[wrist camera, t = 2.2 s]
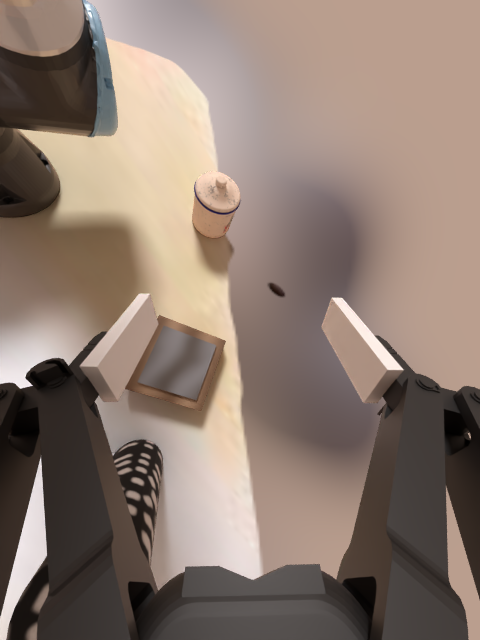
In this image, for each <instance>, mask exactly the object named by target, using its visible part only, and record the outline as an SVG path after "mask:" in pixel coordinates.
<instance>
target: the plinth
mask: <svg viewBox="0 0 480 640" xmlns="http://www.w3.org/2000/svg"><path fill="white" fill-rule="evenodd" d="M157 320H158V326H157V328H156V330H155V332H154V334H153V336H152V338H151V340H150V342H149V343H148V345H147V347H146V349H145V351H144V353H143V355H142V357H141V359H140V361H139V363H138V364H137V366H136V368H135V370H134V372H133V374H132V376H131V378H130V380H129V382H128V383H127V385H126V387H125V389H128V390H131V391H135V392H138V393H141V394H145V395H148V396H152V397H155V398H158V399H162V400H165V401H169V402H172V403H175V404H179V405H182V406H185V407H189V408H192V409H196V410H199V411H201V410H202V407H203V404H204V401H205V398H206V396H207V393H208V390H209V387H210V384H211V381H212V379H213V376H214V373H215V370H216V367H217V364H218V362H219V359H220V356H221V353H222V350H223V347H224V345H225V342H226V341H225V340H222V339H219V338H217V337H214V336H212V335H209V334H207V333H204V332H201V331H199V330H196V329H194V328H191V327H188V326H186V325H183V324H181V323H178V322H176V321H173V320H170V319H168V318H165V317H163V316H160V315H159V317H158V319H157Z"/></svg>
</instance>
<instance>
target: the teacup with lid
mask: <svg viewBox="0 0 480 640" xmlns="http://www.w3.org/2000/svg"><path fill="white" fill-rule="evenodd" d="M194 191H195V197H194V206H193V214H192V221H193V224H194V226H195V228H196V229H197V230H198V231H199V232H200V233H201V234H203V235H204V236H207V237H210V238H218V237H221V236H223V235H225V234H226V232H227V231H228V229H229V226H230V224H231V221H232V219H233V216H234V214H235V211H236V210H237V208H238V207H239V204H240V192H239V189H238V187H237V185H236V184H235V182H234V181H233V180H232V179H231V178H229V177H228V176H227V175H225V174H223V173H220V172H216V171H209V172H205V173H203V174H202V175H200V176H199V177H198V179H197V180H196V182H195V186H194Z"/></svg>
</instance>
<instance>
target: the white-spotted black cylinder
mask: <svg viewBox="0 0 480 640" xmlns="http://www.w3.org/2000/svg"><path fill="white" fill-rule="evenodd" d="M113 459H114V463H115V466H116V469H117V472H118V476H119V479H120V482H121V485H122V489H123V492H124V495H125V498H126V502H127V505H128V508H129V511H130V514H131V518H132V521H133V524H134V527H135V531H136V534H137V537H138V540H139V543H140V546H141V549H142V551H143V553H144V554H145V556H146V558H147V560H148V563H149V565H150V564H151V556H152V548H153V540H154V532H155V524H156V515H157V507H158V499H159V491H160V483H161V475H162V466H163V458H162V454H161V451H160V449H159V448H158V447H157V446H156V445H155V444H154V443H152V442H151V441H147V440H135V441H132V442H129V443H127V444H125V445H124V446H122V447H121V448H120V449H119V450H118V451H117V452H116V453H115V454H114V456H113ZM48 591H49V574H48V558H47V557H46V558H45V560H44V561H43V563H42V564H41V566H40V567H39V569H38V570H37V572H36V573H35V575H34V576H33V578H32V579H31V581H30V583H29V584H28V586H27V587H26V589H25V590H24V592H23V593H22V595H21V597H20V599H19V601H18V603H17V605H16V607H15V609H14V612H13V615H12V618H11V620H10V623H9V628H8V633H7V639H6V640H37V621H38V617H39V613H40V609H41V607H42V605H43V603H44V602H45V600H46V598H47V596H48Z"/></svg>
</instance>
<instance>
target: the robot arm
mask: <svg viewBox="0 0 480 640" xmlns="http://www.w3.org/2000/svg"><path fill="white" fill-rule="evenodd" d="M112 83H113V79H112V72H111V65H110V59H109V54H108V49H107V44H106V39H105V35H104V31H103V27H102V23H101V20H100V17H99V14H98V12H97V10H96V8H95V7H94V6H93V5H92V4H91V3H89V2H88V1H86V0H0V216H1V217H20V216H26V215H30V214H34V213H36V212H39V211H41V210H43V209H45V208H46V207H48V206H49V205H50V204H51V203H52V202H53V201H54V200H55V198H56V197H57V195H58V192H59V187H60V183H59V178H58V175H57V173H56V171H55V169H54V167H53V166H52V164H51V163H50V161H49V160H48V158H47V157H46V156H45V155H44V153H43V152H42V151H41V150H40V149H39V148H38V147H36V146H35V145H34V144H33V143H32V142H31V141H30V140H29V139H28V138H27V137H26V136H25V135H24V134H22V133H21V132H20V131H19V130H18V129H24V130H34V131H43V132H52V133H62V134H71V135H80V136H88V137H94V136H112V135H114V134H115V133H116V131H117V127H118V116H117V105H116V97H115V91H114V86H113V84H112ZM157 326H158V320H157V317H156V313H155V309H154V306H153V302H152V298H151V294H140V293H139V295H138V296H137V297H136V298H135V299H134V301H133V302H132V303H131V304H130V306H129V307H128V308H127V309H126V310H125V312H124V313H123V314H122V315H121V316H120V318H119V319H118V320H117V321H116V323H115V324H114V325H113V326H112V327H111V329H110V330H109V331H108V332H101V333H100V334H98V335H97V336H95V337H94V338H93V339H92V340H91V341H90V342H89V343H88V345H87V346H86V347H85V348H84V349H83V351H81V352H80V354H79V355H78V356H77V357H76V358H75V359H74V360H73V362H72V363H71V364H70V365H69V366H68V365H67V363H66V362H65V361H64V359H61V358H52V359H49V360H45V361H43V362H41V363H39V364H37V365H36V366H34V367H33V368H31V369H30V370H29V372H28V373H27V374H26V377H25V378H26V379H27V380H28V381H29V382H30V383H31V384H32V385H33V386H30V387H26V388H22V389H20V388H19V387H18V386H17V385H16V384H14V383H4V384H0V616H1V612H2V608H3V604H4V600H5V596H6V592H7V588H8V584H9V580H10V576H11V572H12V568H13V564H14V560H15V556H16V552H17V548H18V544H19V540H20V536H21V532H22V528H23V524H24V521H25V517H26V513H27V509H28V505H29V501H30V497H31V493H32V489H33V485H34V481H35V477H36V473H37V469H38V465H39V461H40V457H41V461H42V477H43V494H44V510H45V526H46V542H47V558H48V574H49V591H48V596H47V598H46V600H45V602H44V603H43V605H42V607H41V609H40V613H39V617H38V621H37V640H468V627H467V619H466V613H465V609H464V607H463V604H462V602H461V599H460V598H459V596H458V595H457V594H456V593H455V591H454V590H453V589H452V588H451V585H450V583H449V578H448V554H447V516H446V486H447V490H448V493H449V496H450V500H451V503H452V507H453V510H454V513H455V517H456V520H457V524H458V527H459V530H460V534H461V537H462V541H463V544H464V547H465V551H466V554H467V558H468V561H469V564H470V568H471V571H472V575H473V578H474V582H475V585H476V588H477V592H478V595H479V599H480V389H477V388H475V387H469V386H464V387H462V388H461V389H460V390H459V391H458V392H456V391H452V390H448V389H444V388H441V387H440V386H439V385H438V384H437V383H436V382H435V381H433V380H432V379H430V378H428V377H426V376H423V375H421V374H416V373H415V372H414V371H413V370H412V369H411V368H410V367H409V366H408V365H407V364H406V362H405V361H404V360H403V359H402V358H401V357H400V356H399V355H398V354H397V352H396V351H395V350H394V349H392V347H391V346H390V345H389V343H388V342H387V341H385V340H384V339H382V338H381V337H380V336H374V335H373V334H372V332H370V330H369V329H368V328H367V327H366V326H365V324H364V323H363V322H362V321H361V320H360V319H359V317H358V316H357V315H356V314H355V313H354V311H353V310H352V309H351V308H350V307H349V306H348V304H347V303H346V302H345V301H344V300H343V299H342V298H332V299H331V301H330V304H329V307H328V310H327V313H326V315H325V318H324V321H323V324H322V329H323V331H324V333H325V335H326V337H327V338H328V340H329V342H330V344H331V346H332V347H333V349H334V351H335V353H336V355H337V356H338V358H339V360H340V362H341V363H342V365H343V367H344V369H345V371H346V372H347V374H348V376H349V378H350V380H351V382H352V383H353V385H354V387H355V389H356V391H357V392H358V394H359V396H360V397H361V400H362V401H363V403H378V402H379V400H380V399H381V397H383V398H384V399H385V401H386V402H387V403H386V404H385V405H384V406H383V407H382V409H381V410H380V411H379V412H378V415H380V414H381V413H382V415H381V420H380V424H379V428H378V432H377V437H376V441H375V445H374V449H373V453H372V457H371V461H370V465H369V469H368V473H367V478H366V482H365V486H364V490H363V494H362V498H361V502H360V507H359V511H358V515H357V519H356V523H355V527H354V532H353V535H352V540H351V543H350V545H349V548H348V549H347V551H346V553H345V554H344V556H343V559H342V562H341V564H340V568H339V571H338V576H337V579H334V578H333V577H332V576H330V575H328V574H327V573H325V572H323V571H321V569H320V564H313V565H312V564H310V565H286V566H283V567H281V568H278V569H276V570H274V571H271V572H269V573H267V574H265V575H263V576H261V577H259V578H257V579H255V580H251V579H248V578H246V577H244V576H241V575H239V574H236V573H234V572H232V571H229V570H227V569H224V568H222V567H220V566H200V567H185V572H183V573H181V574H179V575H177V576H176V577H174V578H173V579H171V580H170V581H169V582H167V583H166V584H165V585H164V586H163V587H162V588H161V589H160V590H159V591H158V589H157V586H156V583H155V580H154V577H153V574H152V571H151V568H150V565H149V563H148V560H147V558H146V556H145V554H144V553H143V551H142V549H141V546H140V543H139V540H138V537H137V534H136V531H135V527H134V524H133V521H132V518H131V514H130V511H129V508H128V505H127V502H126V498H125V495H124V492H123V489H122V485H121V482H120V479H119V476H118V472H117V469H116V466H115V463H114V459H113V456H112V453H111V450H110V446H109V443H108V440H107V437H106V433H105V430H104V427H103V424H102V420H101V417H100V414H99V411H98V408H97V405H96V403H95V400H96V399H97V397H98V395H99V396H100V398H101V399H102V401H105V402H118V401H119V399H120V397H121V395H122V393H123V391H124V389H125V387H126V385H127V383H128V382H129V380H130V378H131V376H132V374H133V372H134V370H135V368H136V366H137V364H138V363H139V361H140V359H141V357H142V355H143V353H144V351H145V349H146V347H147V345H148V343H149V342H150V340H151V338H152V336H153V334H154V332H155V330H156V328H157ZM469 432H470V434H471V439H470V438H469V435H468V433H469Z"/></svg>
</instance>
